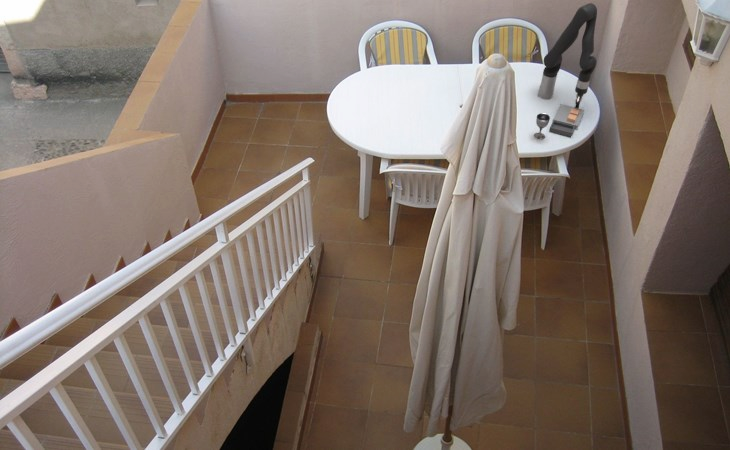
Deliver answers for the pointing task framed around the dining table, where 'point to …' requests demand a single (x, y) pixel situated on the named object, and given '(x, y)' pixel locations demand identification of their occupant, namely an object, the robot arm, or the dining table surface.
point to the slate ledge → (564, 113)
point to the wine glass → (541, 124)
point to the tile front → (571, 118)
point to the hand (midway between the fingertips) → (576, 107)
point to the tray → (561, 128)
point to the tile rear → (574, 112)
